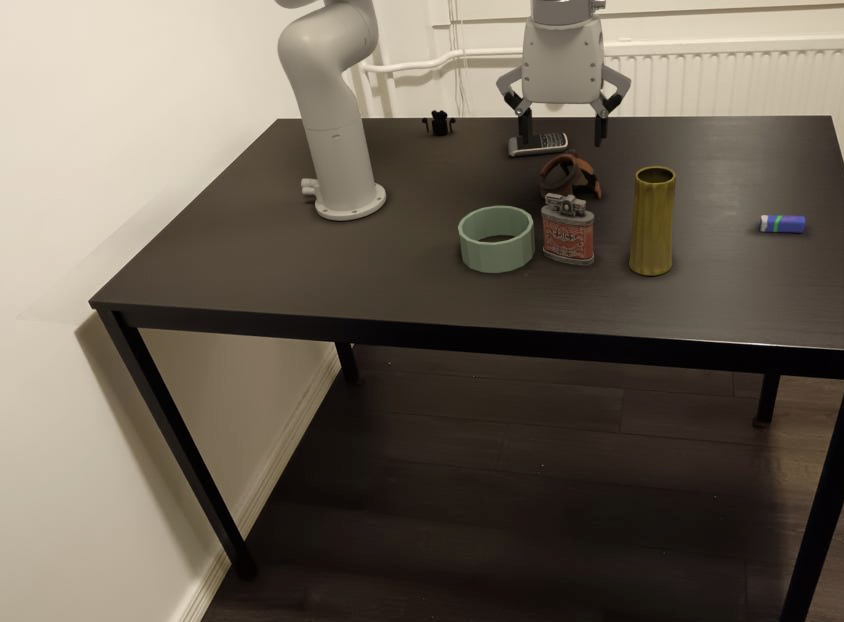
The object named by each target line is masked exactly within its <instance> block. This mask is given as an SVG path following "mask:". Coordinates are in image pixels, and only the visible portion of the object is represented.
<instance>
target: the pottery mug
mask: <svg viewBox="0 0 844 622" xmlns="http://www.w3.org/2000/svg"><path fill="white" fill-rule="evenodd" d="M558 166H559V167H560V168H561V170H562V171H563V172H564V174H565V176H566V178H564V179H563V180H562V181H560V182H558V183H556V184H547V183H546V182H545V181H546V178H547V176H548V175H549V174H550V173H551V171H553V169H555V168H556V167H558ZM539 176H540V179H539V180H538V185H539V187H540V196H541V198H543V199H544V200H545V196H546V195H547V194H548V193H551V194H557V195H562V196H563V197H567V196H568V195H574V193H573V186H575V187H579V186H584V187H593V188H594V192H595V194H596V198H597V199H598V200H601V197H602V190H601V186H600V181H599V178H598V175H597V174H596V172H595V170H594V168H593V167H592V165H590V164H589V163H588V162H587V161H585V160H584V159H581V158H580V156H579V151H578V150H576V149H574V148H569V149H566V150H565V151H564V152H563V154H559V155H557V156H555V157H553V158H552V159H550V160H549V161H548V162H547V163H546V164H544V166H543V167H542V169H541V170H540V172H539Z"/></svg>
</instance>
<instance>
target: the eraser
mask: <svg viewBox="0 0 844 622" xmlns="http://www.w3.org/2000/svg"><path fill="white" fill-rule="evenodd" d="M805 227H806V217H805V216H802V215H770V214H769V215H768V214H767V215H765V214H764V215H763V214H762V215H761V216H760V222H759V232H760V233H791V234H792V233H793V234H794V233H795V234H796V233H797V234H802V233H804V230H805Z"/></svg>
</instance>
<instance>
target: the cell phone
mask: <svg viewBox="0 0 844 622" xmlns="http://www.w3.org/2000/svg"><path fill="white" fill-rule="evenodd" d="M568 144H569V142H568V137H567V135H566V134H565V132H552V133H543V134H533V135H532V138H531V140H530V142H529V144H527V145H523V136H513V137H510V138H509V139H508V143H507V147H508V155H509V156H511V157H512V158H515V157H523V156H534V155H545V154H554V153H555V154H557V153H565V151H567V150H568V149H567V148H568Z"/></svg>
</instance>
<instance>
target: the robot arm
mask: <svg viewBox="0 0 844 622" xmlns="http://www.w3.org/2000/svg"><path fill="white" fill-rule="evenodd" d="M273 1H274V2H275V4H277V5H278V6H280V7H282V8H284V9H287V10H291V9H292V10H294V9H299V8H303V7H306V6H308V5H311V4H313V3H315V2H318V1H319V0H273ZM529 1H530V3H529V4H530V15H529V16H528V17H527V18H526V21H525V25H524V31H523V33H524V34H523V39H522V40H523V41H522V42H523V43H522V55H521V56H522V58H521V65H519V66H517V67H515V68H513V69H512V70H510V71H507V72H506V73H504V74H503V75H500V76H499V77H498V78H497V80H496V81H495V86H496V87H497V89H498V91H499V93H500V94H501V96H502V97H503V101H504V102H505V103H506V104H507V105H508V106H509V107H510V108H511V109H512V110H513V111H514V114H515V116H516V117H517V124H518V137H522V136H523V145H527V144H529V142H530V140H531V138H532V135H534V131H533V130H534V129H533V109H531V105H533V103H534V104H549V105H550V104H555V105H557V104H559V105H561V104H562V105H590V107H591V108H592V109H593V111H594V112H595V113H596V115H595V118H594V146H593V147H595V148H601V145H602V142H603V140H604V139H605V140H606V139H607V138H608V131H609V115H610V114H611V113H612V112H614V110H615V109H616V108H618V107H619V106H620V105H621V104H622V102H623V100H624V98H625V97H626V96H627V93H628V92H629V90H630V89H631V86H632V78H630V77H628V76H626V75H624V74H622V73H620V72H619V71H617V70H615V69H613V68H611V67H609V66H607V65H605V48H604V47H605V46H604V34H603V33H604V32H603V25H602V20H601V15H600V14H598V13H596V11H600V10H605V9H606V7H607V0H529ZM323 5H324V6H323V7H321V8H317V9H315V10H313V11H311V12H309V13H306V14H304V15H302V16H300V17H298V18H297V19H295V20H293V21H291V22H290V23H288V24H287V25H286V27H284V29H283V30H282V31H281V33H280V34H279V37H278V39H277V45H276V47H277V48H276V49H277V56H278V59H279V62H280V65H281V67H282V70H283V71H284V74H285V75H286V78H287V80H288V82H289V84H290V87H291V90H292V93H293V94H294V97H295V100H296V103H297V107H298V111H299V114H300V118H301V122H302V125H303V128H304V132H305V136H306V140H307V144H308V148H309V153H310V156H311V159H312V164H313V167H314V172H315V175H316V178H304V177H303V178H302V179H301V180H300V181H301V182H300V185H301V193H302V195H304V196H314V197H316V199H315V202H314V206H315V210H316V214H318V216H320V217H322V218H324V219H326V220H331V221H338V222H339V221H340V222H342V221H343V222H344V221H352V220H357V219H361V218H363V217H367V216H369V215H372V214H374V213H375V212H377V211H378V210H380V209H381V208H382V207H383V206H384V204H385V203H386V201H387V193H386V190H385V188H384V187H383V186H382V185H381V184H379V183H376V182H375V178H374V173H373V168H372V163H371V158H370V154H369V149H368V144H367V140H366V133H365V129H364V125H363V120H362V114H361V110H360V106H359V102H358V98H357V97H356V95H355V93H354V91H353V90H352V89H351V87H350V86H349V85H348V84H347V83H346V81H345V80H344V78H343V73H344V72H346V71H347V70H348V69H350V68H352V67H353V66H355V65H357V64H359V63H361V62H362V61H364V60H366V59H367V58H368V57H370V56H371V55H372V54H373V53H374V52H375V50H376V48H377V46H378V43H379V37H380V35H379V33H380V32H379V25H378V20H377V19H378V18H377V14H376V11H375V7H374V3H373V0H323ZM520 80H521V94H522V96H520V95H519V94H518V93H517V92H516V91H515V90H514V89H513V88H512V86H511V85H512V84H514V83H516V82H517V81H520ZM605 82H607V83H609V84H611V85H613V86H615V87H616V90H615V92H613V94H612V95H610V97H608V98H607V97H606V95H605V94H604V93H603V92H602V90H603V89H604V85H605Z"/></svg>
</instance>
